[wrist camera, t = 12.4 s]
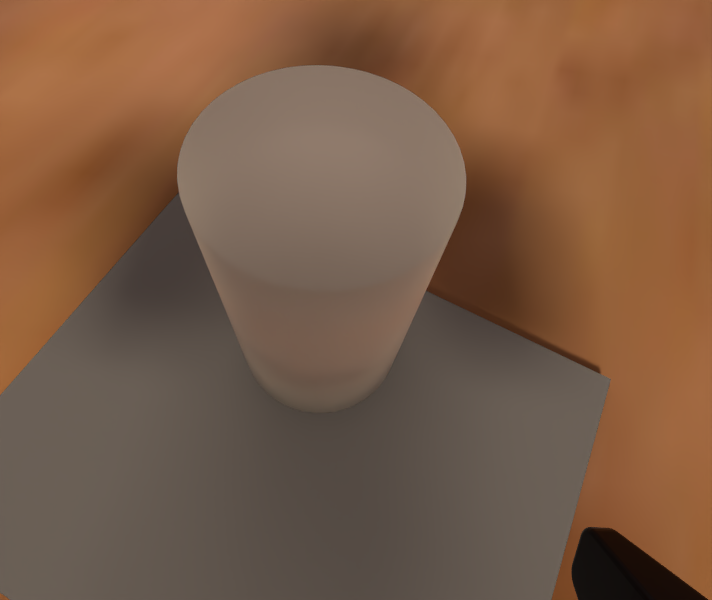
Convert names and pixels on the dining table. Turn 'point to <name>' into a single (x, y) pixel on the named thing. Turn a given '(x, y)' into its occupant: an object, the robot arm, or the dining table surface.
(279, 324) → the canister
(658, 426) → the dining table surface
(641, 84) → the dining table surface
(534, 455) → the mat
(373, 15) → the dining table surface
